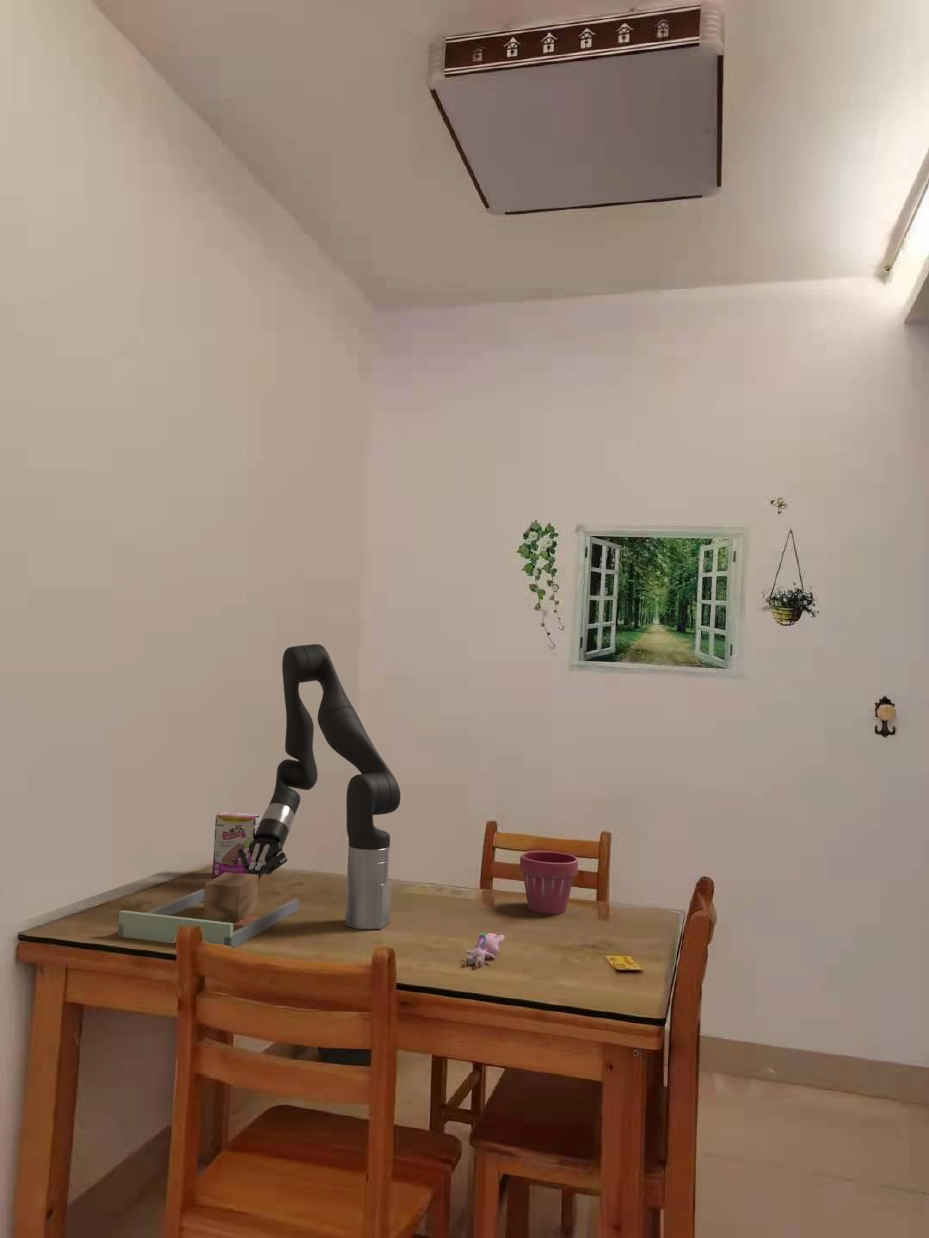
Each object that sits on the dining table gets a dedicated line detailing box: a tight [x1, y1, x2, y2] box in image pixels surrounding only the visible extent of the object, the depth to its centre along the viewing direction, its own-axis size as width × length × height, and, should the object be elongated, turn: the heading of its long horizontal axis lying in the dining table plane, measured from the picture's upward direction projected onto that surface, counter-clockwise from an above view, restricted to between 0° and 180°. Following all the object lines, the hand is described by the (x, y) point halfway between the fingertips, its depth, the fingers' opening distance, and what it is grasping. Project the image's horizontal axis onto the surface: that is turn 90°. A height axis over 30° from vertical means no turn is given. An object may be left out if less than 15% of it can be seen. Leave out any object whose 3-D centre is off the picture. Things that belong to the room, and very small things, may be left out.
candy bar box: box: [212, 811, 262, 878], centre depth 250 cm, size 11×5×16 cm, turn 84°
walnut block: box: [202, 872, 259, 923], centre depth 213 cm, size 8×12×8 cm, turn 173°
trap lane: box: [117, 888, 300, 949], centre depth 205 cm, size 25×33×5 cm
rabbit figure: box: [462, 932, 506, 970], centre depth 188 cm, size 6×6×15 cm
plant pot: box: [519, 850, 579, 915], centre depth 228 cm, size 14×14×13 cm
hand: (249, 886), depth 221 cm, fingers closed
